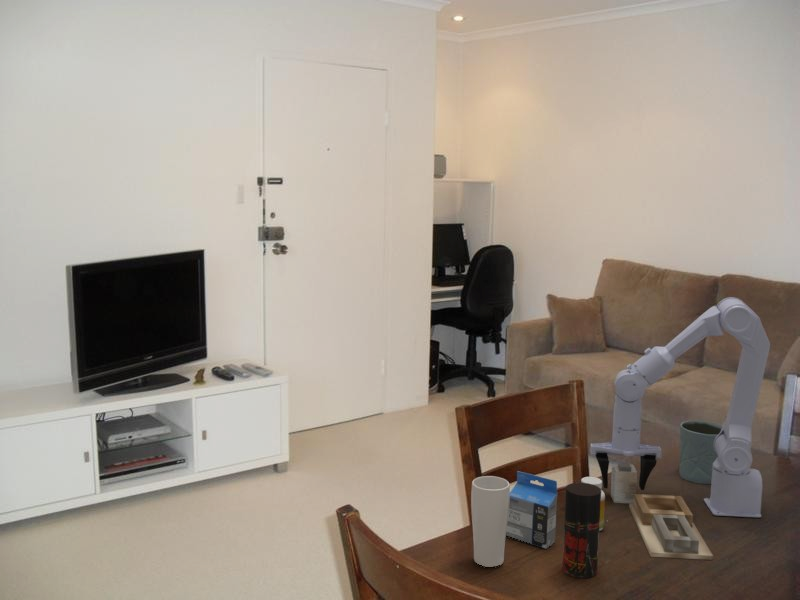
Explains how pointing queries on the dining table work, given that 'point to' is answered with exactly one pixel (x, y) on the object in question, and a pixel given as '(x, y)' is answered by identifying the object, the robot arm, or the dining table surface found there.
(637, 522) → the socket board
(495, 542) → the drinking glass
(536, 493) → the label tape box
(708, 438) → the green plant pot
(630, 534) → the dining table surface
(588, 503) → the deodorant
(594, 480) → the supplement bottle
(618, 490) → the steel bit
